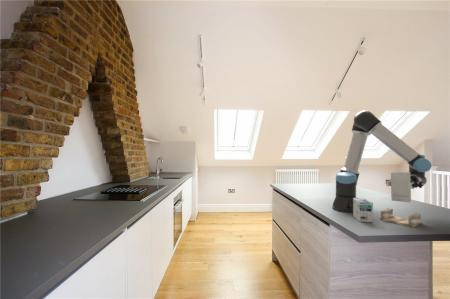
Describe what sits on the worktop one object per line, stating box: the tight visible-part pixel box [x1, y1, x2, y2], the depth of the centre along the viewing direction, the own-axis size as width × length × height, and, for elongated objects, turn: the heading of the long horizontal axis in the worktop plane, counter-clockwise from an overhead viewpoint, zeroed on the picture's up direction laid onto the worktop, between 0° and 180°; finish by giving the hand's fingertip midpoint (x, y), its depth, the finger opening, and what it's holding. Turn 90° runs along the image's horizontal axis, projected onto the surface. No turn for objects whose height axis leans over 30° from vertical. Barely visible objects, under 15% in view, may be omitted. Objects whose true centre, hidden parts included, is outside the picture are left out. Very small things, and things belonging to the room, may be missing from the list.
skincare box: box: [390, 171, 412, 203], centre depth 125 cm, size 8×7×16 cm
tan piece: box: [379, 207, 422, 228], centre depth 125 cm, size 15×12×5 cm
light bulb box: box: [352, 197, 374, 223], centre depth 128 cm, size 11×7×11 cm, turn 168°
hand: (397, 184), depth 122 cm, fingers closed on skincare box, 9 cm apart
